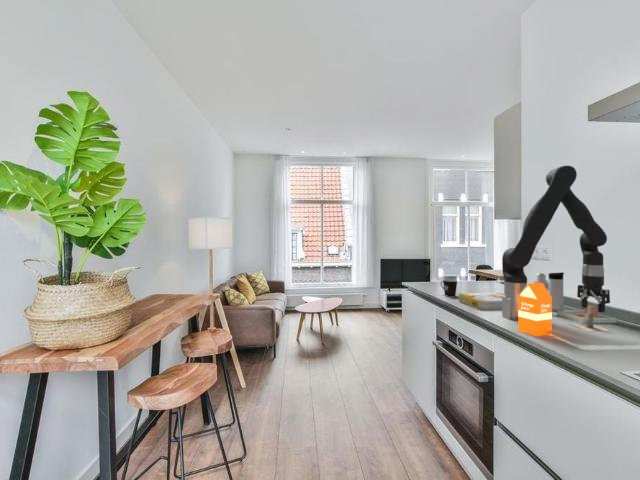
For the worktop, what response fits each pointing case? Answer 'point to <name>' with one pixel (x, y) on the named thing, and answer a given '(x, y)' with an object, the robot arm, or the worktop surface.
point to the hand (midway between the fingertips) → (592, 309)
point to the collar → (590, 310)
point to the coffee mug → (449, 287)
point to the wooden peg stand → (589, 325)
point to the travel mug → (556, 290)
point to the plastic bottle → (542, 280)
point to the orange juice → (535, 310)
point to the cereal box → (482, 300)
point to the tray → (584, 320)
